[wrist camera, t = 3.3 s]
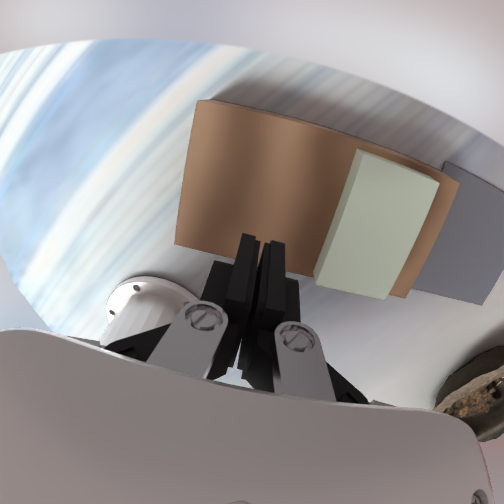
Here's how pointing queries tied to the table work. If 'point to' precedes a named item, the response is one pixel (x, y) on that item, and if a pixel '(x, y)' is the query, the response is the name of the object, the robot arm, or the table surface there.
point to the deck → (281, 186)
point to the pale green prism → (374, 226)
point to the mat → (467, 242)
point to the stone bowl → (477, 395)
